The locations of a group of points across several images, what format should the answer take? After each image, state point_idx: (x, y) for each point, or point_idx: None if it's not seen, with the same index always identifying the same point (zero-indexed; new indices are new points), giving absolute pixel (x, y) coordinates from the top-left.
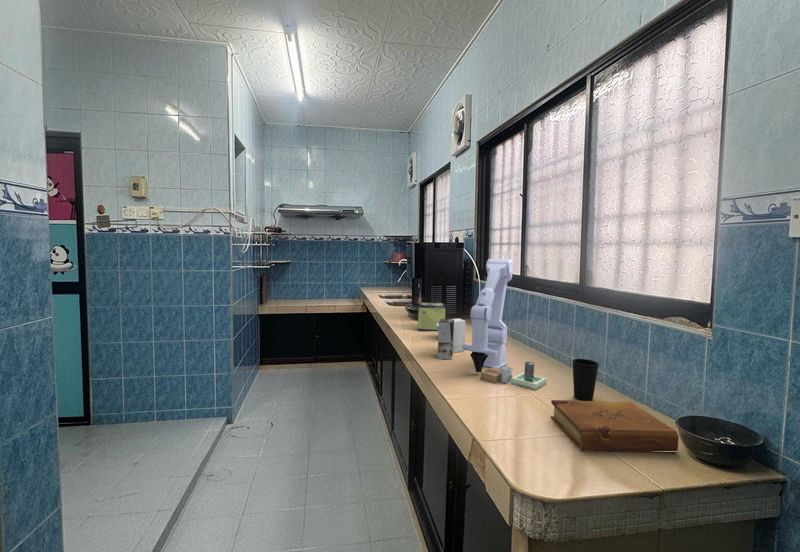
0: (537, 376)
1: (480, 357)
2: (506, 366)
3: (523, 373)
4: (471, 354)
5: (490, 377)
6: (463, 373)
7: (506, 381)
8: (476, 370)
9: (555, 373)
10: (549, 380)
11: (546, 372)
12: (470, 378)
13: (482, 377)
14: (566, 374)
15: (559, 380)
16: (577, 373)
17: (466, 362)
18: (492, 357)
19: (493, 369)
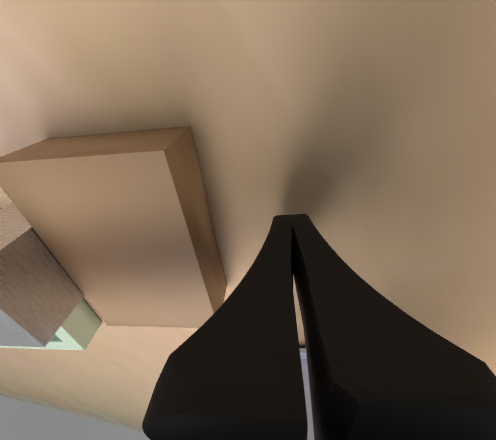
0: (8, 346)
1: (175, 368)
2: (25, 344)
3: (70, 344)
4: (478, 412)
5: (63, 150)
6: (419, 139)
7: (6, 206)
8: (297, 219)
9: (109, 397)
10: (42, 351)
11: (128, 393)
12: (273, 54)
13: (162, 134)
14: (89, 402)
15: (36, 365)
16: None
17: (481, 342)
18: (309, 421)
19: (177, 296)
